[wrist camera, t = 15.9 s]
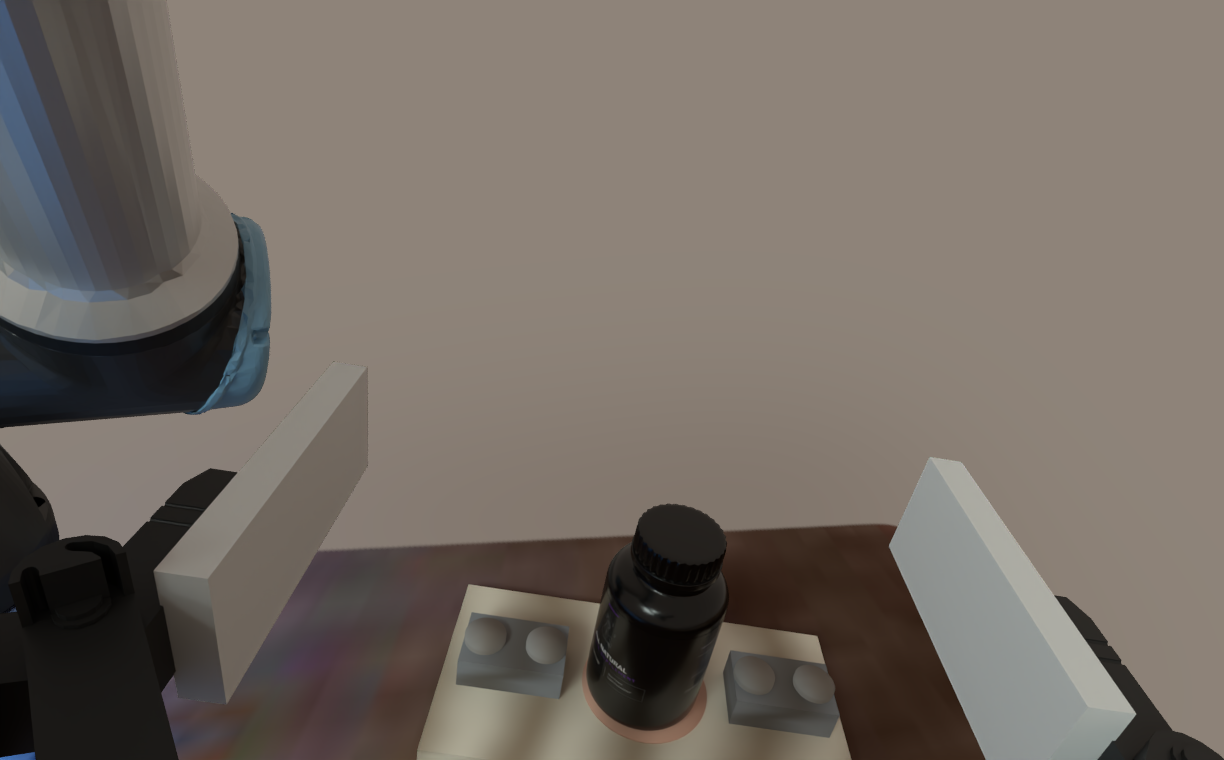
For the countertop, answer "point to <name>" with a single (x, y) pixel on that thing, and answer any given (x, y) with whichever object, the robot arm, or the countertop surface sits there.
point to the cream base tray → (576, 726)
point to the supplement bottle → (659, 619)
